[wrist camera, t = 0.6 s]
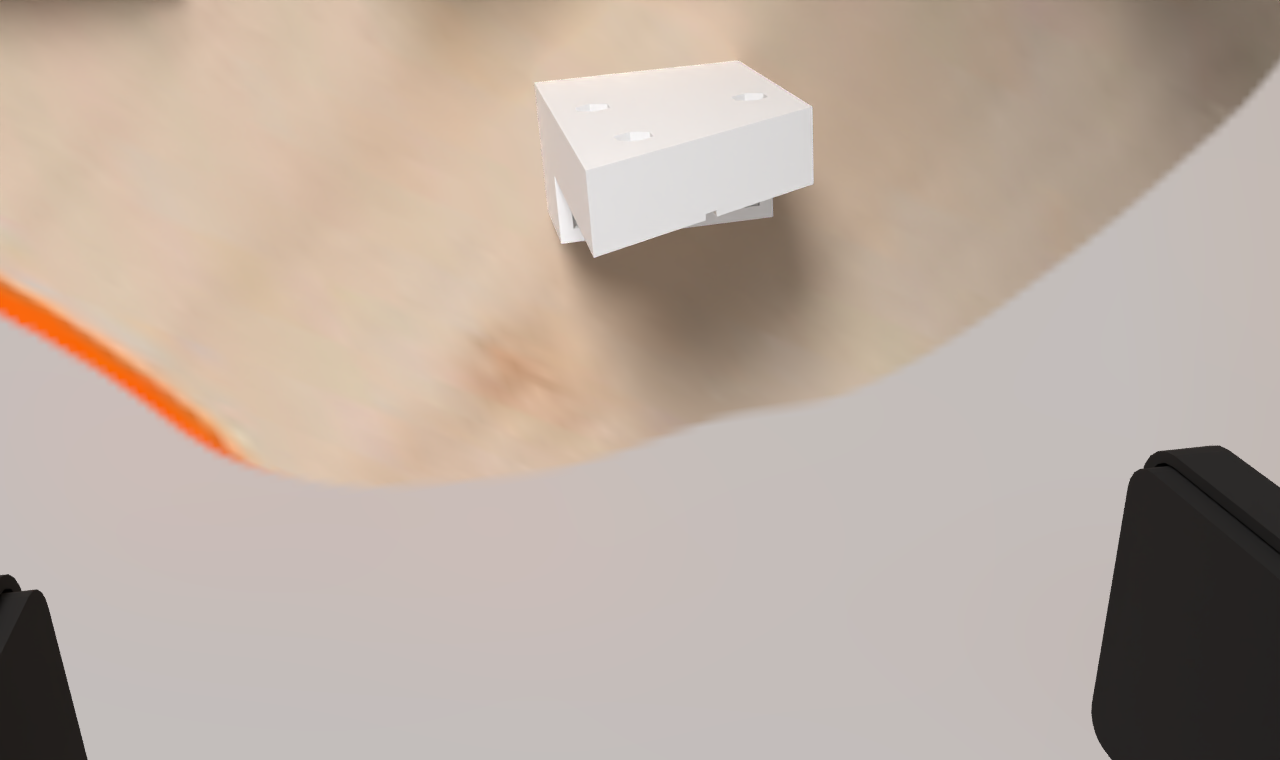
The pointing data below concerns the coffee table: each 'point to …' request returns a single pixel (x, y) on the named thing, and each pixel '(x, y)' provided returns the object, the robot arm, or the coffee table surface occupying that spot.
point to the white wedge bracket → (668, 151)
